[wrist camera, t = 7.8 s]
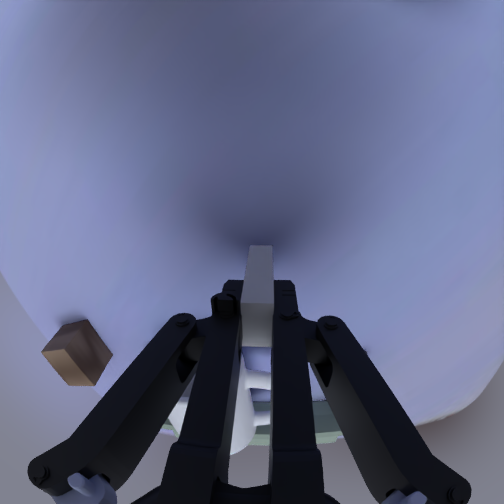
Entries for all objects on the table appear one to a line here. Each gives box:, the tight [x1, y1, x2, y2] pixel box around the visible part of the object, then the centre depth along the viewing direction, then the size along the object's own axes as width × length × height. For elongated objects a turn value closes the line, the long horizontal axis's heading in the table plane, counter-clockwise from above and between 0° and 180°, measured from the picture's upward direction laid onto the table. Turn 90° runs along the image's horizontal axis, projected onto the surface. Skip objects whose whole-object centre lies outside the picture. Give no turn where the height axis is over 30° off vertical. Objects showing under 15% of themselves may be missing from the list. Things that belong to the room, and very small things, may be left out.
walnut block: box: [41, 319, 113, 386], centre depth 23 cm, size 5×5×5 cm
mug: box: [168, 354, 271, 455], centre depth 21 cm, size 12×10×8 cm
